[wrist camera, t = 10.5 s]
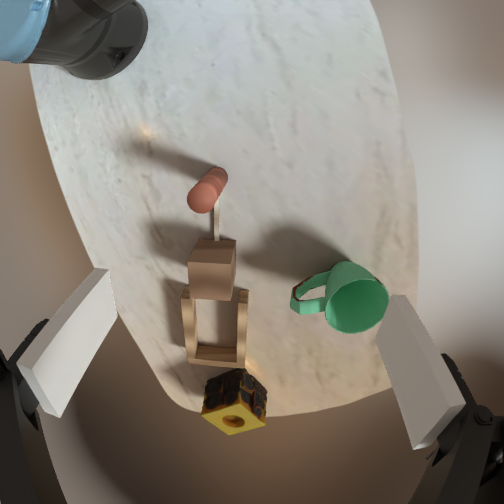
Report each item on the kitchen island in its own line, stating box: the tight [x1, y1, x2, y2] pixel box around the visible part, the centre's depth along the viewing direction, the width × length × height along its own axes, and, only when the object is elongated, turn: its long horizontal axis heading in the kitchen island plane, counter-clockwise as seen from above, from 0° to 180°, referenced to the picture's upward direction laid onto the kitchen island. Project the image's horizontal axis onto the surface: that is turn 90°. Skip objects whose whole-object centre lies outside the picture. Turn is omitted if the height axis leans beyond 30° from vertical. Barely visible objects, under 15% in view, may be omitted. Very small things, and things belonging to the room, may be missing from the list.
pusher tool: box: [187, 167, 236, 301], centre depth 42 cm, size 18×6×12 cm, turn 178°
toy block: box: [201, 368, 267, 435], centre depth 59 cm, size 10×10×10 cm
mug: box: [290, 261, 389, 334], centre depth 46 cm, size 15×10×10 cm
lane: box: [181, 286, 249, 368], centre depth 54 cm, size 16×11×4 cm
